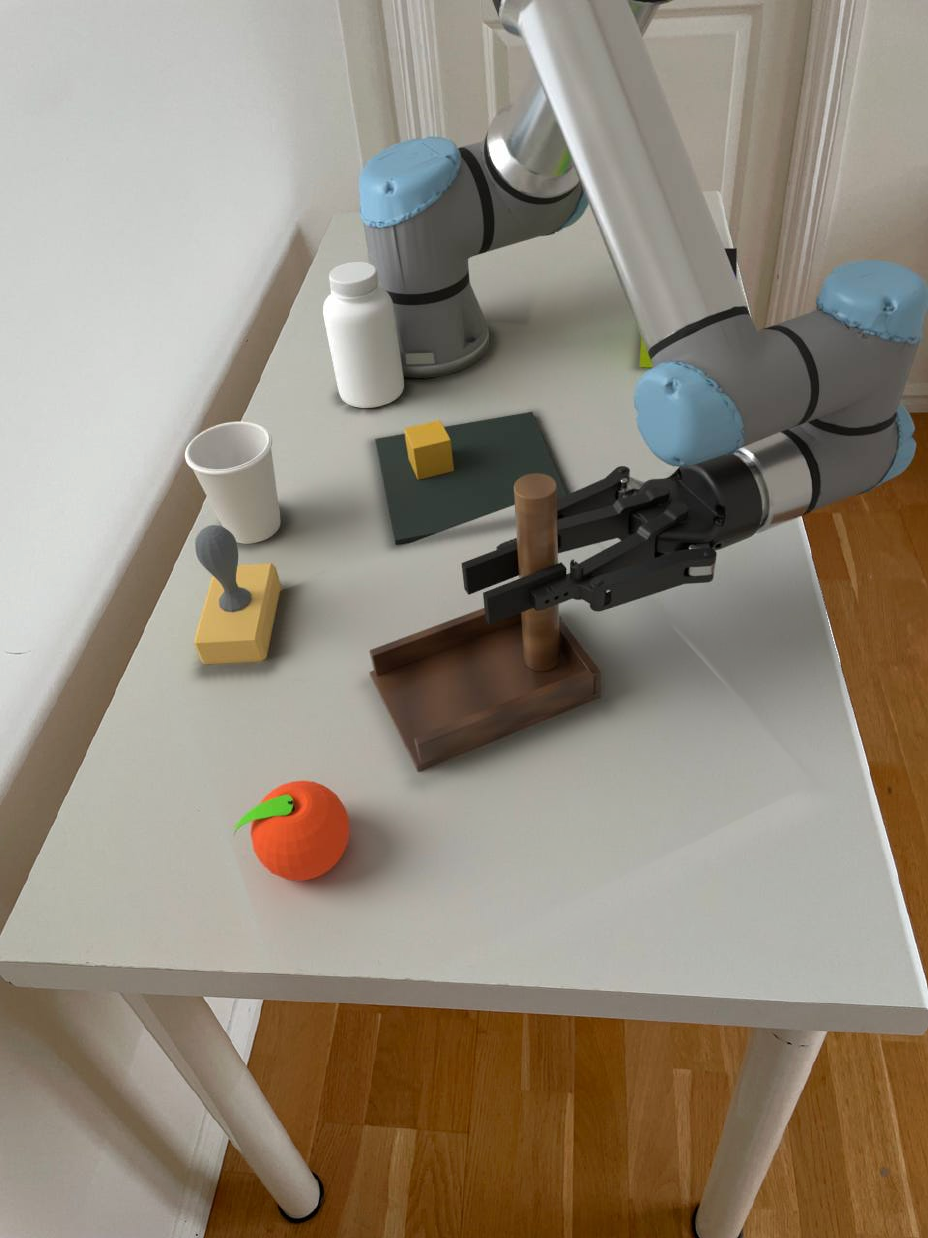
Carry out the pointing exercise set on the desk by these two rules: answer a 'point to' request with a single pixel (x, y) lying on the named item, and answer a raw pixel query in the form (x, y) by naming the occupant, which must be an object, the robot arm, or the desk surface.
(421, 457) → the block
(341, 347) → the pill bottle
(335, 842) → the clementine
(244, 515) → the dixie cup
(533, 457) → the mat
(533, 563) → the wooden peg tray
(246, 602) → the rubber stamp
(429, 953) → the desk surface
